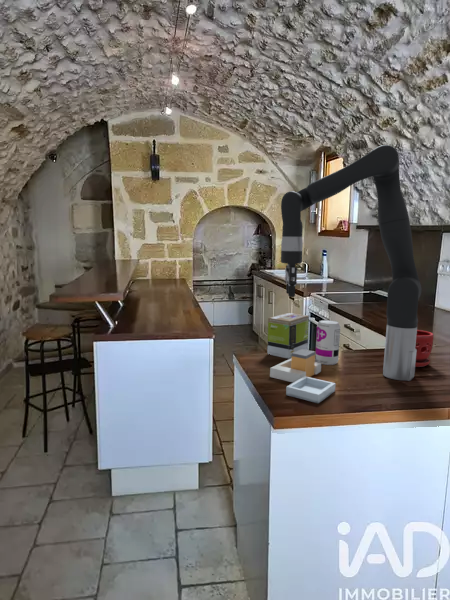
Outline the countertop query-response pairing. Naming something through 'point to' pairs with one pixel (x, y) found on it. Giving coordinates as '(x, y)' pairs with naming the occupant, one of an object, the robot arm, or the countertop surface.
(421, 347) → the plant pot
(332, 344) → the supplement can
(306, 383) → the tray
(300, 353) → the orange grey block
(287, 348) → the tea box
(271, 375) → the bay
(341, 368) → the countertop surface
